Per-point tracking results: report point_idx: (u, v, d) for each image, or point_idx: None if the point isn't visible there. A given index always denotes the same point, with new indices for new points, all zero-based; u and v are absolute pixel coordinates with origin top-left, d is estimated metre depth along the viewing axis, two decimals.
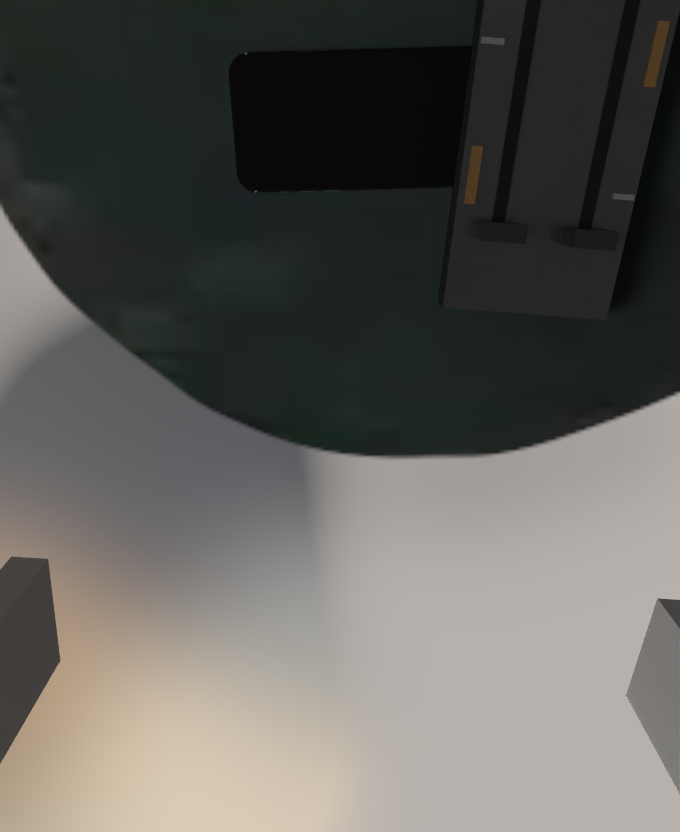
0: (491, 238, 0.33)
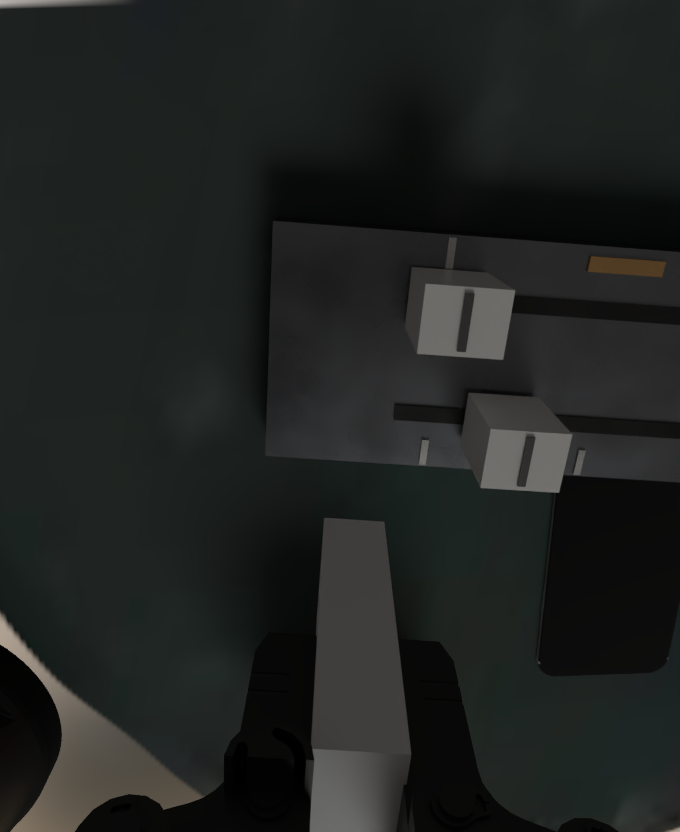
0: None
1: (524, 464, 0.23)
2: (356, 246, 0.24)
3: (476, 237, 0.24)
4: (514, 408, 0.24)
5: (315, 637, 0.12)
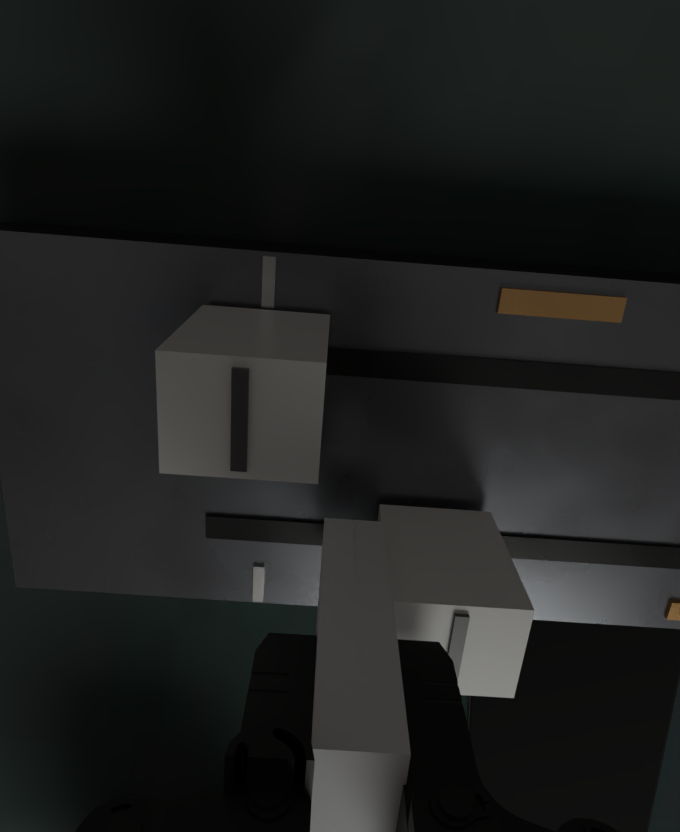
0: None
1: (452, 656, 0.13)
2: (111, 270, 0.14)
3: (309, 256, 0.14)
4: (445, 541, 0.15)
5: (315, 637, 0.12)
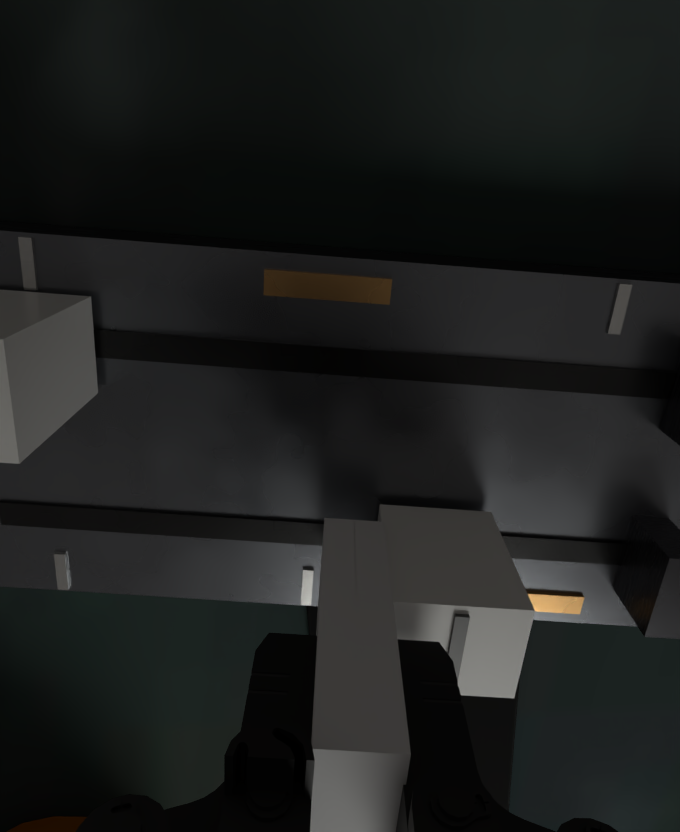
0: None
1: (452, 656, 0.13)
2: None
3: (66, 237, 0.14)
4: (445, 541, 0.15)
5: (315, 637, 0.12)
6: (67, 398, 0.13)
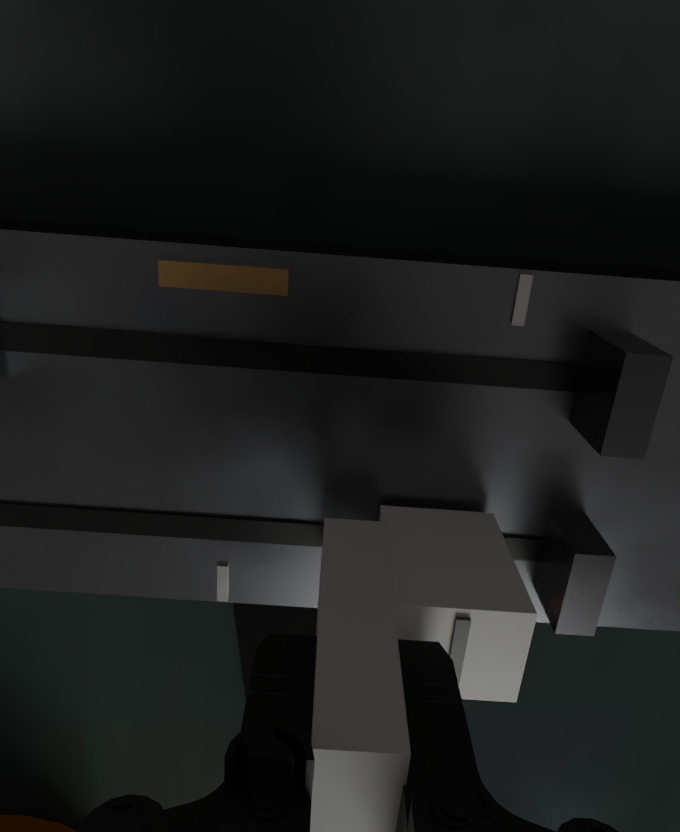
0: (592, 621, 0.15)
1: (453, 660, 0.13)
2: None
3: None
4: (447, 543, 0.15)
5: (315, 637, 0.12)
6: None
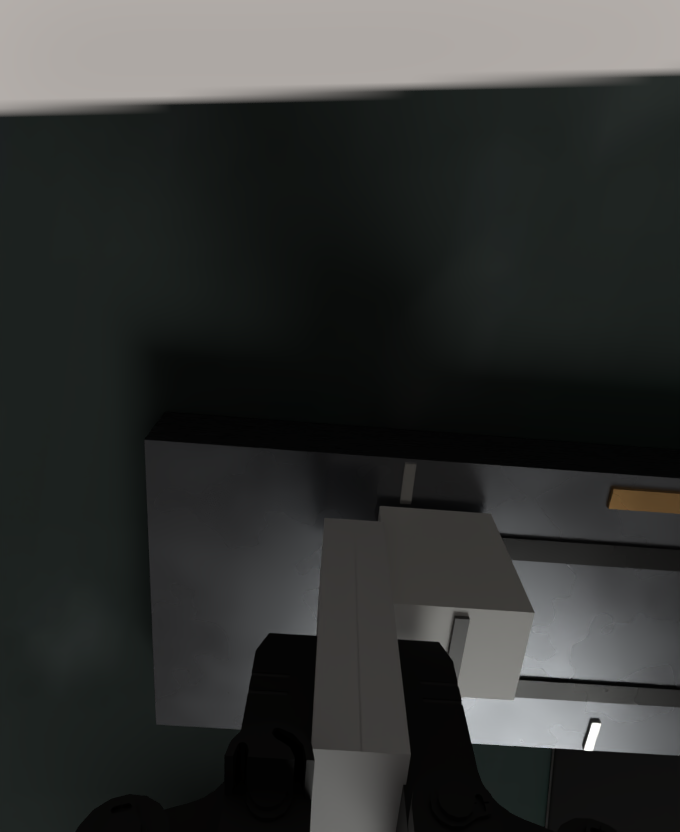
0: None
1: None
2: (269, 473, 0.16)
3: (445, 463, 0.16)
4: None
5: (315, 637, 0.12)
6: None
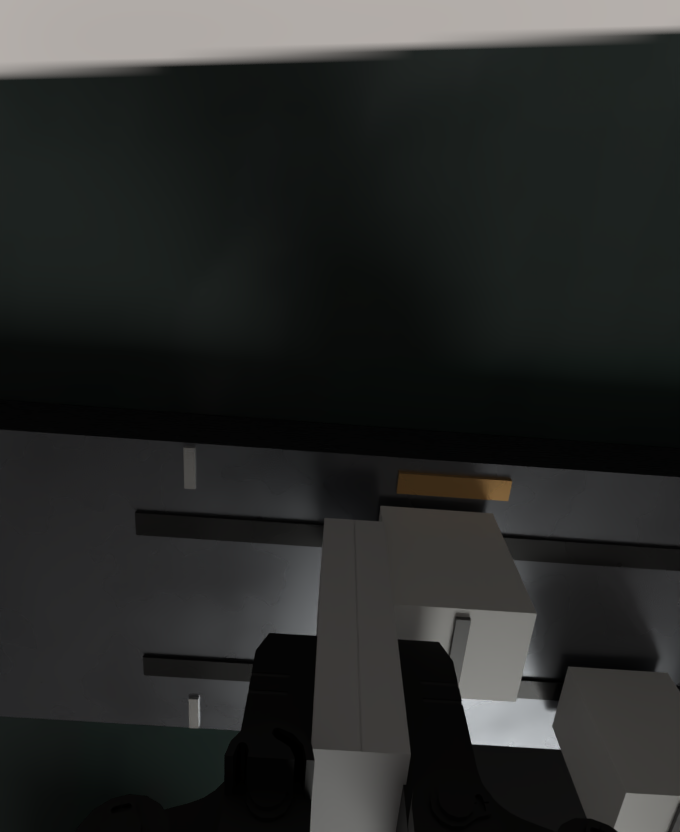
0: None
1: None
2: (48, 458, 0.16)
3: (225, 447, 0.16)
4: (643, 714, 0.17)
5: (315, 637, 0.12)
6: None
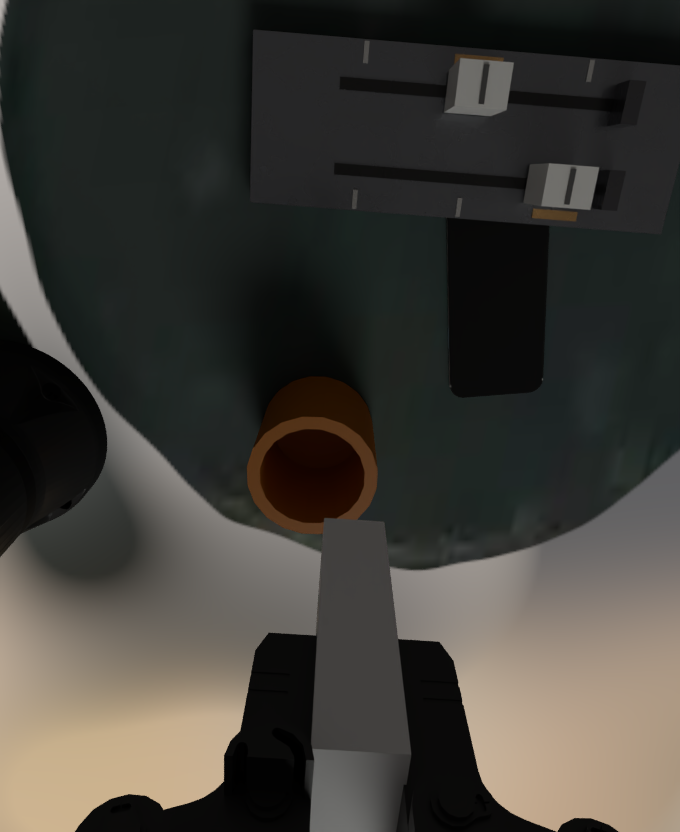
0: (616, 203, 0.39)
1: (569, 189, 0.37)
2: (306, 47, 0.38)
3: (382, 40, 0.38)
4: None
5: (315, 637, 0.12)
6: None
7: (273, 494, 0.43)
